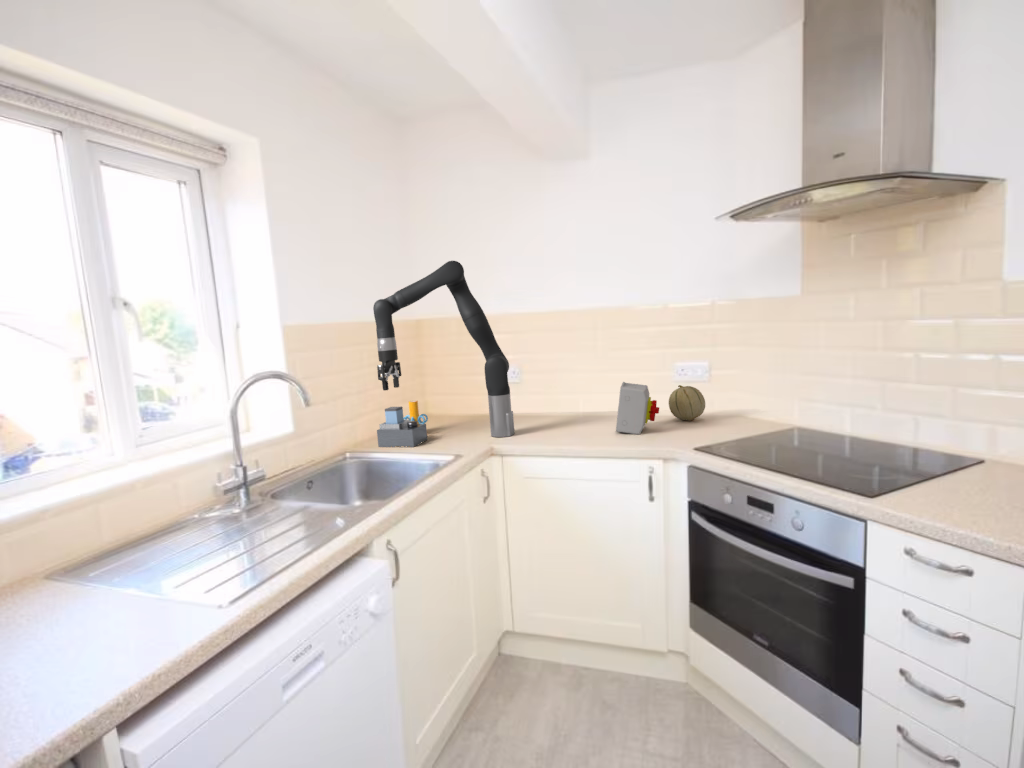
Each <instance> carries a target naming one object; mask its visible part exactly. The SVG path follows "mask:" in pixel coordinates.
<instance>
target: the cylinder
mask: <svg viewBox="0 0 1024 768" xmlns="http://www.w3.org/2000/svg"><path fill="white" fill-rule="evenodd" d="M418 402H419V401H418V400H409V401H408V410H409V411H408V412H409V414H407V415H405V416H403V418H404V420H410V421H417V424H427V422H428V421H429V420H428V419H429V418H428V415H427V414H426V413H422V414H420V413H419V412H420V411H419V410H420V409H419V403H418ZM422 420H423V421H422Z"/></svg>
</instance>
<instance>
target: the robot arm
mask: <svg viewBox="0 0 1024 768" xmlns="http://www.w3.org/2000/svg"><path fill="white" fill-rule="evenodd" d="M443 286H446V287H447V288H448V289H449V292H450V293H451V295H452V296H453V299H454V301H455V303H456V306H457V309H458V312H459V315H460V318H461V320H462V321H463V323H464V327H465V328H466V329H467V332H468V334H469V335H470V337H472V339H473V341H474V342H475V343H476V345H478V347H479V348H480V350H481V352H482V354H483V357H484V360H485V363H484V377H485V378H484V379H485V386H486V390H487V402H488V413H489V427H490V436H491V437H493V438H503V437H504V438H505V437H512V436H513V435H514V434H515V421H514V412H513V410H512V402H511V399H512V398H511V388H510V385H509V378H508V377H509V376H508V372H509V370H510V363H509V362H510V361H509V360H508V358H507V357H506V355H505V354H504V352H503V351H502V348H501V347H500V345H499V344H498V342H497V340H496V338H495V335H494V332H493V329H492V327H491V325H490V323H489V320H488V318H487V316H486V314H485V312H484V310H483V309H482V307H481V304H479V302H478V301H477V299H476V298H475V297H474V295H473V294H472V291H471V290H470V287H469V286H468V282H467V280H466V277H465V269H464V267H463V265H462V264H461V263H460V262H459V261H457V260H448V261H446V262H445V263H444V264H442V265H441V266H440V267H438V268H437V269H436V270H434V271H433V272H431V273H430V274H428V275H426V276H425V277H423V278H421V279H419V280H417V281H415V282H413V283H411V284H408V285H407V286H405V287H403V288H401V289H399V290H397V291H395V292H394V293H393V294H392V295H389V296H387V297H385V298H380V299H378V300H376V301H375V302H374V304H373V316H374V320H375V321H374V322H375V326H376V341H377V343H376V345H377V353H378V354H377V355H378V362H381V364H377V367H376V368H377V369H376V370H377V379H378V381H381V385H382V390H383V391H388V390H389V381H388V379H389V377H390V376H392V381H393V382H392V383H393V388H397V389H398V388H400V379H399V378H400V377H402V369H401V362H400V361H398V359H399V358H398V357H399V356H398V350H397V341H396V335H395V334H396V333H395V327H394V324H393V314H395V313H397V312H398V311H400V310H401V309H404V308H406V307H408V306H411V305H412V304H414V303H416V302H418V301H420V300H421V299H423V298H425V297H426V296H427V295H428V294H430V293H432V292H433V291H435V290H436V289H439V288H441V287H443Z"/></svg>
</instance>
